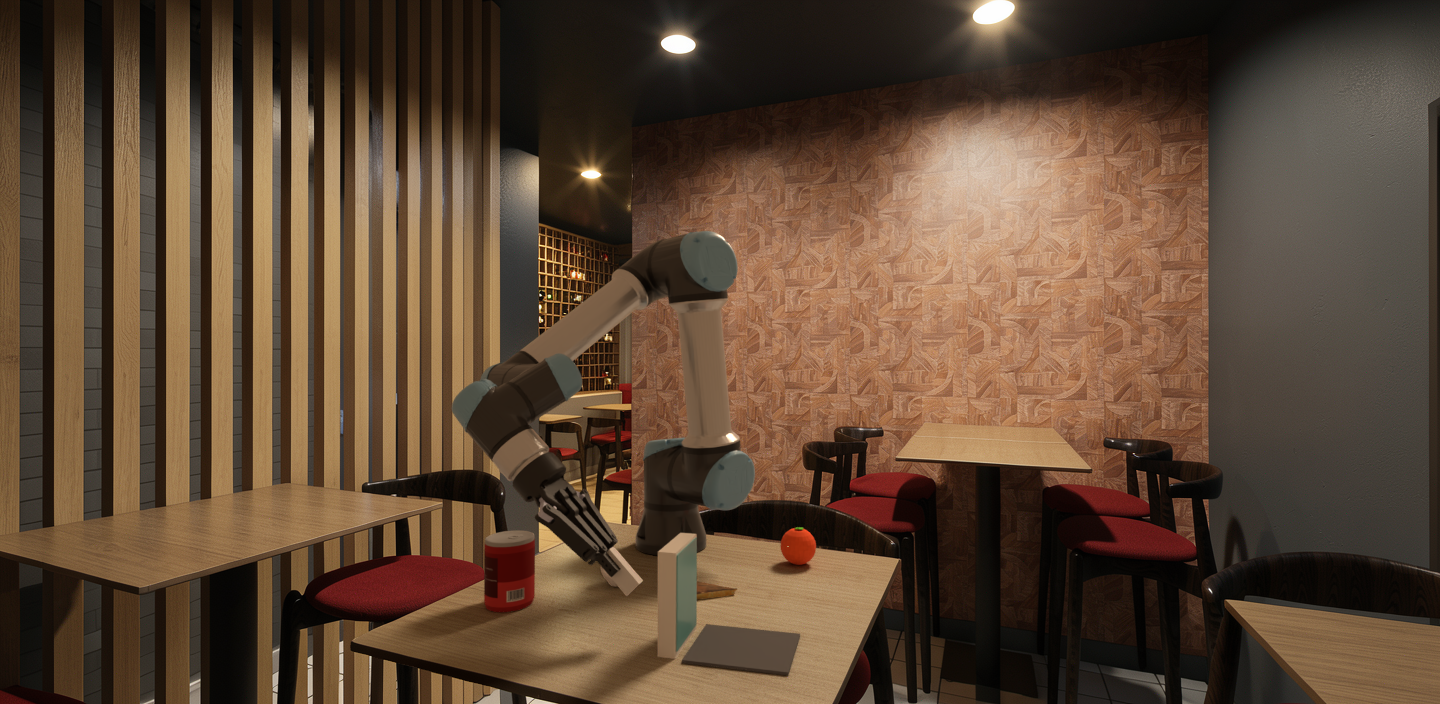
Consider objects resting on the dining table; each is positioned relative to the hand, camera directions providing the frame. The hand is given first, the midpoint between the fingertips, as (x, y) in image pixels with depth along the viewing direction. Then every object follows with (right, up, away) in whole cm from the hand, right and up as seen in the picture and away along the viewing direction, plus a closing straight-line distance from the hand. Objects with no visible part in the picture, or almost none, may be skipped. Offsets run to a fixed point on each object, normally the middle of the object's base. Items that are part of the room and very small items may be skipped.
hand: (634, 588), depth 93 cm
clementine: (+28, -8, +34) cm, 45 cm away
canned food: (-22, -7, +13) cm, 27 cm away
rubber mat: (+15, -7, -4) cm, 17 cm away
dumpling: (-6, -8, +22) cm, 24 cm away
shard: (+8, -8, +19) cm, 22 cm away
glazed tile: (+6, -7, -2) cm, 10 cm away
